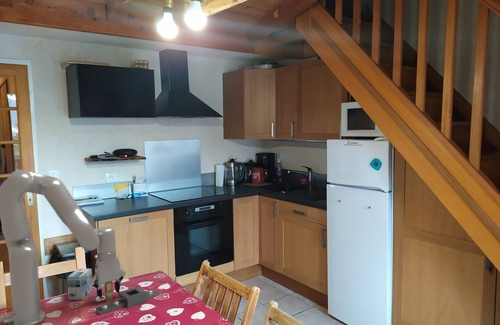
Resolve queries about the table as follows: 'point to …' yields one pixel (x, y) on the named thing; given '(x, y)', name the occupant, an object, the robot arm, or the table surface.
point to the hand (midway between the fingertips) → (108, 294)
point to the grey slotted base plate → (128, 299)
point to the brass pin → (108, 291)
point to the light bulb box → (79, 284)
